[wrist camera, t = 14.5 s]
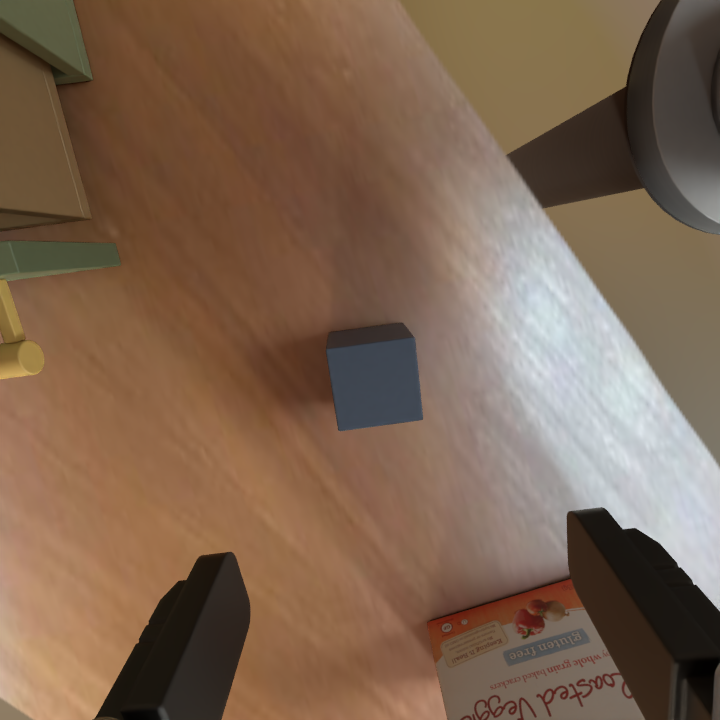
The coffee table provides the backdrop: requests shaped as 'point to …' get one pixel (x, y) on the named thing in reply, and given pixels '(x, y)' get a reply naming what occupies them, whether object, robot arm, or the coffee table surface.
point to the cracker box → (528, 661)
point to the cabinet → (48, 35)
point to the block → (374, 376)
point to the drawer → (36, 194)
